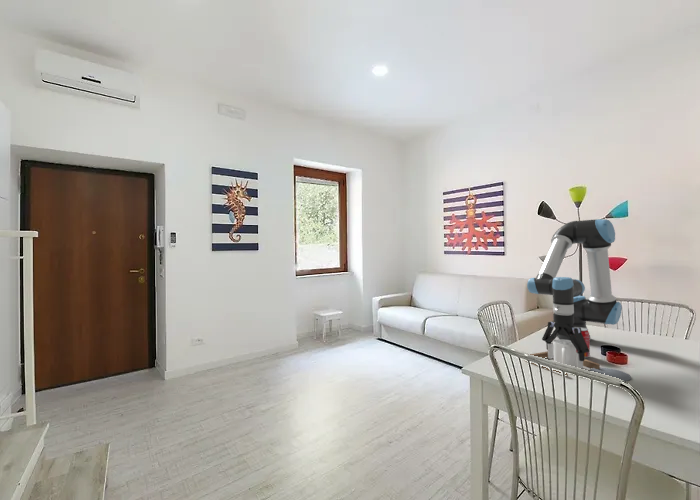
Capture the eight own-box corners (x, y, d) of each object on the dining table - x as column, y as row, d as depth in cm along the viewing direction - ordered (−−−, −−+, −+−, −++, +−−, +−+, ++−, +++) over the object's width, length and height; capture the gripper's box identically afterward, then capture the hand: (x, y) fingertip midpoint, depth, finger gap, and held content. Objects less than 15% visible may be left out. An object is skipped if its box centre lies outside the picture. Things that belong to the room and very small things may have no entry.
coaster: (581, 371, 139) (581, 370, 139) (604, 367, 143) (604, 365, 143) (615, 383, 127) (615, 382, 126) (639, 378, 130) (639, 376, 130)
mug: (575, 373, 137) (575, 348, 137) (552, 369, 142) (551, 345, 142) (576, 364, 147) (576, 340, 147) (554, 361, 152) (554, 338, 152)
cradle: (524, 360, 154) (523, 355, 154) (556, 355, 159) (555, 349, 159) (565, 377, 134) (564, 370, 134) (599, 370, 140) (599, 364, 140)
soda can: (586, 354, 159) (586, 327, 159) (592, 359, 152) (591, 330, 152) (569, 353, 161) (568, 326, 161) (574, 358, 155) (573, 330, 154)
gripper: (532, 309, 155) (533, 355, 155) (585, 320, 131) (586, 374, 132) (545, 307, 157) (546, 353, 158) (599, 318, 134) (600, 371, 134)
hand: (564, 362), depth 145 cm, fingers open, 13 cm apart
